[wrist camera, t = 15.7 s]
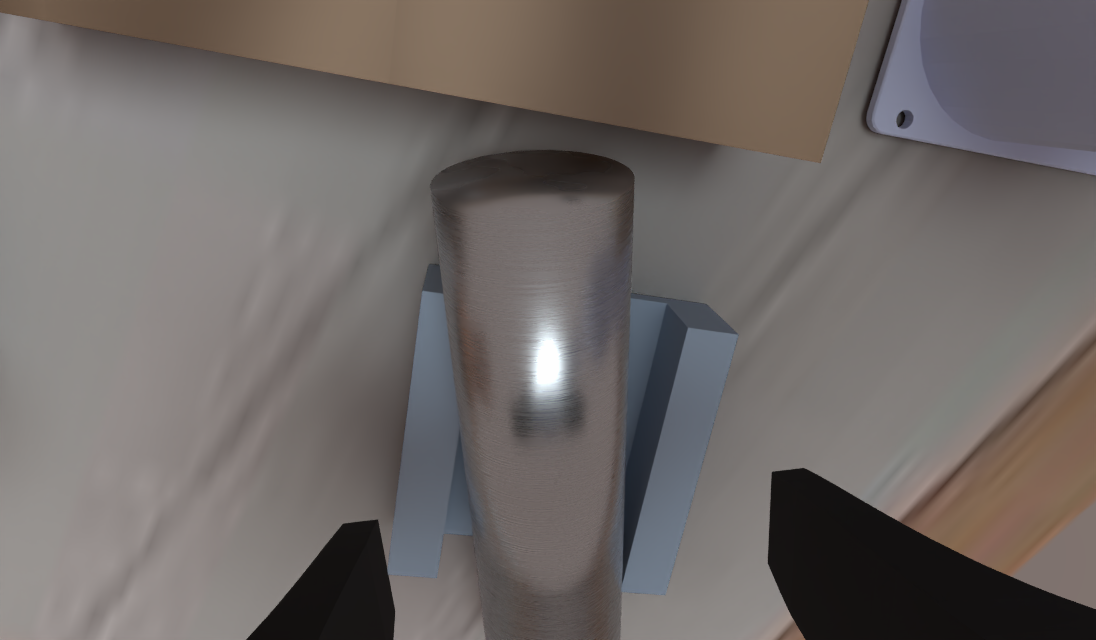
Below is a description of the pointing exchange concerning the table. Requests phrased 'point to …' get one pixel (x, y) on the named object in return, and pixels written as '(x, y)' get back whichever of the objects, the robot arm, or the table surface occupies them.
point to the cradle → (651, 443)
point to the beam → (544, 54)
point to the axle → (541, 381)
